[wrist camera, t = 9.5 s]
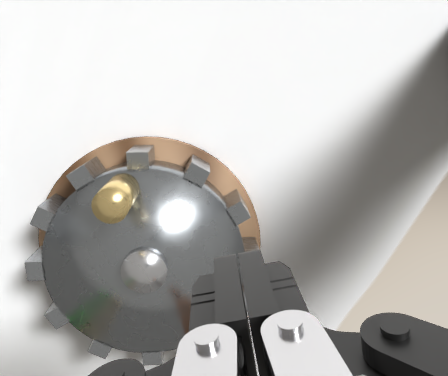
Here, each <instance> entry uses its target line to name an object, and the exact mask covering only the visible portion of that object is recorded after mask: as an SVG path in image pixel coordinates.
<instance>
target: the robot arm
mask: <svg viewBox="0 0 448 376" xmlns="http://www.w3.org/2000/svg"><path fill="white" fill-rule="evenodd" d="M238 258H239V263H240V269H241V275H242V280H243V286H244V292H245V298H246V303H247V309H248V315H249V320H250V326H251V331H252V337H253V342H254V348H255V353H256V359H257V364H258V370H259V375H260V376H448V329H446V328H443V327H440V326H437V325H435V324H432V323H429V322H426V321H423V320H420V319H417V318H414V317H412V316H408V315H405V314H400V313H381V314H376V315H373V316H371V317H369V318H367V319H366V320H365V321H364V322H363V323H362V325H361V328H360V333H356V332H339V331H334V330H330V329H327V328H325V327H323V326H322V324H321V323H320V321H319V320H318V318H316V317H315V316H314V315H312V314H311V313H309V311H308V309H307V307H306V304H305V302H304V300H303V298H302V295H301V293H300V291H299V289H298V286H297V284H296V282H295V280H294V278H293V275H292V273H291V271H290V268H289V267H287V266H286V265H284V264H282V263H281V262H273V263H268V264H264V261H263V258H262V254H261V251H260V249H259V250H254V251H248V252H243V253H238ZM88 376H257V371H256V365H255V359H254V353H253V347H252V342H251V336H250V330H249V324H248V318H247V312H246V306H245V301H244V295H243V290H242V284H241V279H240V274H239V268H238V263H237V257H236V254H232V255H226V256H221V257H215V258H214V273H213V274H207V275H202V276H199V277H198V279H197V280H196V281H195V283H194V284H193V285H192V297H191V309H190V321H189V332H188V333H187V334H186V335H185V336H184V337H183V338H182V339H181V341H180V342H179V345H178V348H177V353H176V357H174V358H173V359H171V360H170V361H168V362H166V363H164V364H162V365H160V366H158V367H155V368H153V369H150V370H148V371H146V372H145V369H144V367H143V365H142V364H141V363H140V362H139V361H137V360H134V359H118V360H114V361H111V362H109V363H106V364H104V365H102V366H101V367H99V368H97V369H96V370H95V371H93V372H92V373H91V374H90V375H88Z"/></svg>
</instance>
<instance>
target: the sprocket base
mask: <svg viewBox="0 0 448 376" xmlns="http://www.w3.org/2000/svg"><path fill="white" fill-rule="evenodd" d="M134 145H154V152H155V160H158V161H165V162H170V163H175V164H177V165H180V166H183V167H186V165H187V163H188V161H189V160H190V158H191V156H192V154H194V155H196V156H197V157H199V158H201V159H203V160H205V161H207V162H209V164H210V174H209V176H208V178H207V180H208V181H209V182H210V183H212V184H213V185H214V186H215V187H216V188H217V189H218V190H219V191H220V192H221V194H222V195H223V196H225V195H227V194H228V193H230V192H232V191H233V190H235V189H237V190H238V192H239V193H240V195H241V197H242V198H243V200H244V201H245V203H246V205H247V208H248V211H249V214H250V216H251V218H249V219H248V220H246V221H244V222H243V223H241V224H239V225H238V226H239V229H240V233H241V237H255V238H256V241H257V244H258V247H259V249H260V230H259V224H258V219H257V216H256V213H255V210H254V207H253V204H252V202H251V200H250V198H249V196H248V194H247V192H246V190H245V189H244V187H243V186H242V184H241V183H240V181H239V180H238V179H237V177H236V176H235V175H234V174H233V173H232V172H231V171H230V170H229V169H228V168H227V167H226V166H225V165H224V164H223V163H221V162H220V161H219V160H218V159H217V158H215V157H213V156H212V155H210V154H209V153H207V152H205V151H204V150H202V149H199V148H197V147H195V146H193V145H191V144H188V143H185V142H181V141H178V140H174V139H169V138H163V137H147V136H146V137H133V138H127V139H123V140H118V141H114V142H112V143H109V144H106V145H103V146H101V147H99V148H97V149H95V150H93V151H91V152H90V153H88V154H86V155H85V156H83V157H82V158H81V159H79V160H78V161H76V162H75V163H74V164H73V165H72V166H71V167H69V168H68V169H67V170H66V171H65V172H64V173H63V174H62V176H61V177H60V178H59V180H58V181H57V182H56V183H55V185H54V186H53V188H52V190H51V192H50V193H49V195H48V197H47V199H49V198H50V197H51V196H53V195H54V194H55V193H56V194H58V195H61V196H63V197H65V198H68V197H69V196H70V195H71V194H73V193H74V192H75V191H76V189H75V188H74V187H73V185H72V184H71V183H70V181H69V180H68V178H67V177H66V175H68V174H69V173H71V172H72V171H74V170H75V169H77V168H78V167H80V166H81V165H83V164H84V163H86V162H88V161H89V160H91V159H92V158H94V157H96V156H97V157H98V159H99V160H100V161H101V163H102V164H103V166H104V167H105V168H106V169H107V168H110V167H112V166H115V165H118V164H121V163H124V162H127V159H126V152H127V151H128V150H129V149H131V148H132V147H133V146H134ZM47 199H46V200H47ZM45 234H46V231H44V230H41V229H39V237H38V238H39V247H40V246H41V245H42V244H43V241H44V237H45Z"/></svg>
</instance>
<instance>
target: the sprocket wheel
mask: <svg viewBox="0 0 448 376" xmlns="http://www.w3.org/2000/svg"><path fill="white" fill-rule="evenodd" d="M126 159H127V162H124V163H121V164H118V165H115V166H112V167H110V168H107V169H106V168H105V167H104V166H103V164H102V163H101V161H100V160H99V159H98V157H97V156H96V157H94V158H92V159H91V160H89V161H88V162H86V163H84V164H83V165H81V166H80V167H78V168H77V169H75V170H74V171H72V172H71V173H69V174H68V175H66V177H67V178H68V180H69V181H70V183H71V184H72V185H73V187H74V188H75V189H76V191H75V192H74V193H73V194H71V195H70V196H69V197H68V198H65V197H63V196H61V195H58V194H56V193H55V194H54V195H53V196H51V197H50V198H49V199H47V200H46V201H45V202H43V203H42V204H41V205H39V206H38V208H37V210H36V212H35V214H34V216H33V218H32V221H31V223H30V224H31V225H33V226H35V227H37V228H39V229H41V230H44V231H46V234H45V237H44V241H43V244H42V245H41V246H40V247H39V248H38V249H37V250H36V251H35V252H34V253H33V254H32V255H31V256H30V257H29V258H28V259H27V260H26V261H25V267H26V273H27V279H28V281H35V280H45V283H46V286H47V289H48V292H49V294H50V296H51V298H52V300H53V303H52V304H51V306H50V307H49V309H48V310H47V312H46V313H45V314H44V316H45V317H46V318H47V319H48V320H49V321H50V323H51V324H52V325H53V326H54V327H55V328H56V329H58V328H60V327H61V326H63V325H65V324H67V323H68V322H70V323H71V324H72V325H73V326H74V327H75V328H77V329H78V330H79V331H81V332H82V333H84V334H85V335H86V336H88V337H90V338H92V339H93V340H92V343H91V345H90V347H89V350H88V352H90V353H92V354H94V355H97V356H99V357H102V358H104V359H106V357H107V355H108V353H109V351H110V350H111V348H116V349H120V350H124V351H130V352H141V353H142V357H143V365H162V360H163V353H164V351H168V350H173V349H176V348H178V345H179V342H180V341H181V339H182V338H183V337H184V336H185V335H186V334H187V333H188V332H189V321H190V309H191V297H192V285H193V284H194V283H195V281H196V280H197V279H198V277H199V276H202V275H207V274H213V273H214V258H215V257H221V256H226V255H232V254H236V257H237V263H238V268H239V274H240V279H241V284H242V290H243V295H244V301H245V306H246V312H247V311H248V309H247V303H246V298H245V292H244V286H243V280H242V275H241V269H240V263H239V258H238V253H243V252H248V251H254V250H259V247H258V244H257V241H256V238H255V237H241V233H240V229H239V226H238V225H239V224H241V223H243V222H244V221H246V220H248V219H249V218H251V216H250V214H249V211H248V208H247V205H246V203H245V201H244V200H243V198H242V197H241V195H240V193H239V192H238V190H237V189H235V190H233V191H232V192H230V193H228V194H227V195H225V196H223V195H222V194H221V192H220V191H219V190H218V189H217V188H216V187H215V186H214V185H213V184H212V183H210V182H209V181H208V180H207V178H208V176H209V174H210V164H209V162H207V161H205V160H203V159H201V158H199V157H197V156H196V155H194V154H192V156H191V158H190V160H189V161H188V163H187V165H186V167H183V166H180V165H177V164H175V163H170V162H165V161H158V160H155V152H154V145H134V146H133V147H132V148H131V149H129V150H128V151H127V152H126Z"/></svg>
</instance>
